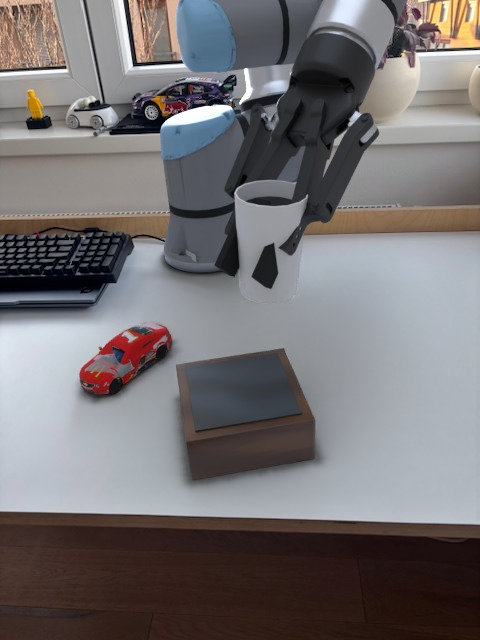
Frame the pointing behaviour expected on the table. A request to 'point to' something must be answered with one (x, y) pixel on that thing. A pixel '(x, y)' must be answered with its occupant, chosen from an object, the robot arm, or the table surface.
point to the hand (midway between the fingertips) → (242, 276)
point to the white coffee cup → (267, 237)
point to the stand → (244, 413)
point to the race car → (125, 357)
